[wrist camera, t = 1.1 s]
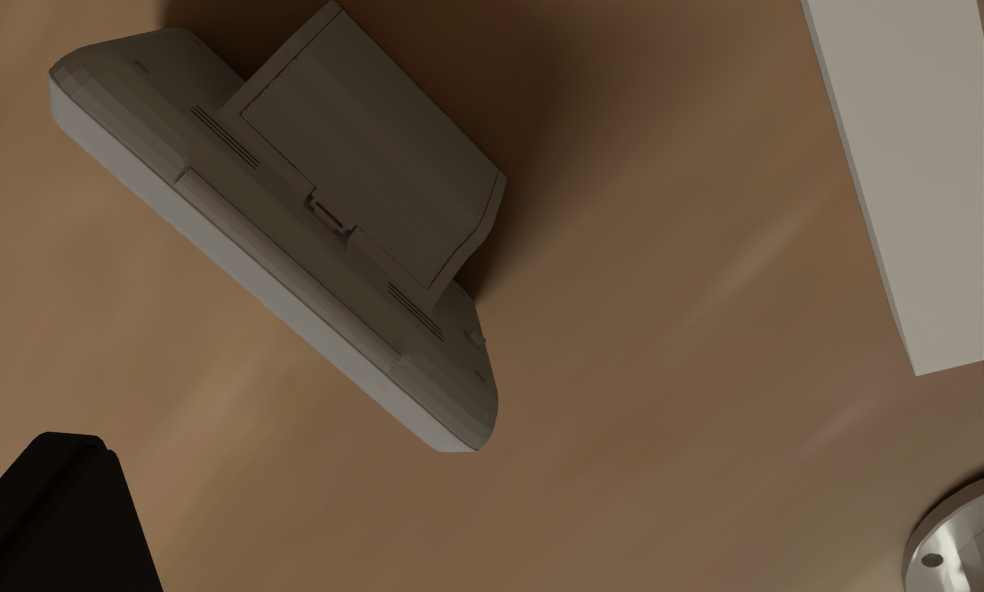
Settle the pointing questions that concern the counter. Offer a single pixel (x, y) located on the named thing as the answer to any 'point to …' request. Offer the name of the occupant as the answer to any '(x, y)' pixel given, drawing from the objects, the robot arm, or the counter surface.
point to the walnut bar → (981, 12)
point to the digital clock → (312, 199)
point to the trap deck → (915, 158)
